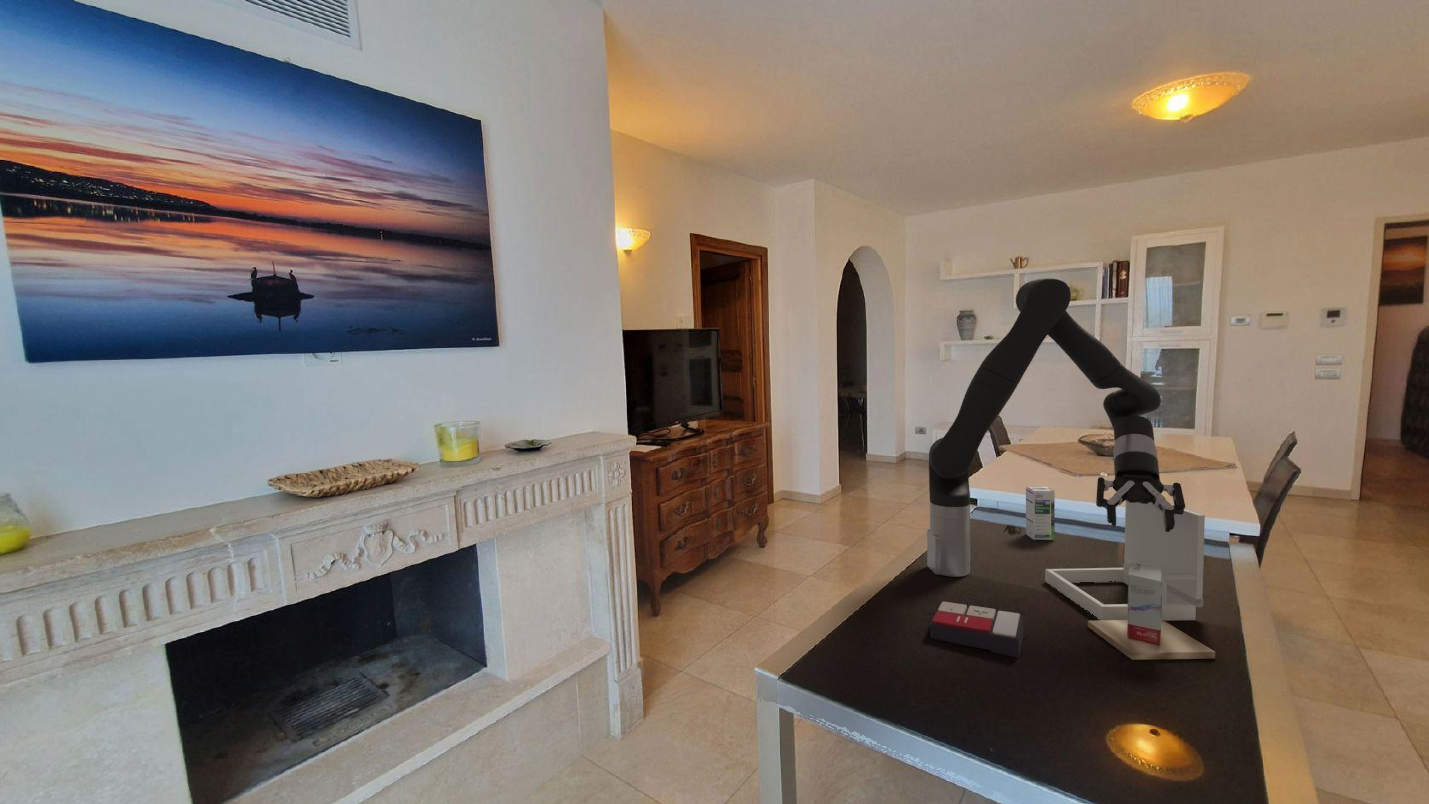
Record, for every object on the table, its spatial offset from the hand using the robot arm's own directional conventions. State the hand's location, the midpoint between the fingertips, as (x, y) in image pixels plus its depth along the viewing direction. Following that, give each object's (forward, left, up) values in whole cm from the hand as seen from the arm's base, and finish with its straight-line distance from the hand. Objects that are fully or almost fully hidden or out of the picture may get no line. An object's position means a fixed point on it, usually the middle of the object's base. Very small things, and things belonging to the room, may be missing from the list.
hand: (1140, 527), depth 109 cm
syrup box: (+8, +51, -19) cm, 54 cm away
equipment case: (+1, +9, -18) cm, 20 cm away
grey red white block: (-35, -6, -19) cm, 40 cm away
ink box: (-5, -9, -17) cm, 20 cm away
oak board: (-5, -9, -18) cm, 21 cm away
